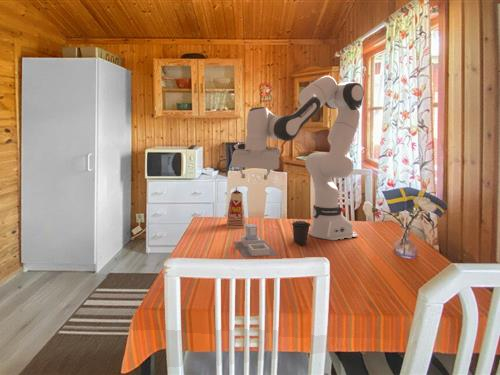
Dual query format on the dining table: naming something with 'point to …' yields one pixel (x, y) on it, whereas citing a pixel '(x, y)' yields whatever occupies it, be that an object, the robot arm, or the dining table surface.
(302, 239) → the coffee cup
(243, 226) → the milk carton
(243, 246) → the panel
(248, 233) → the plug
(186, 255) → the dining table surface
